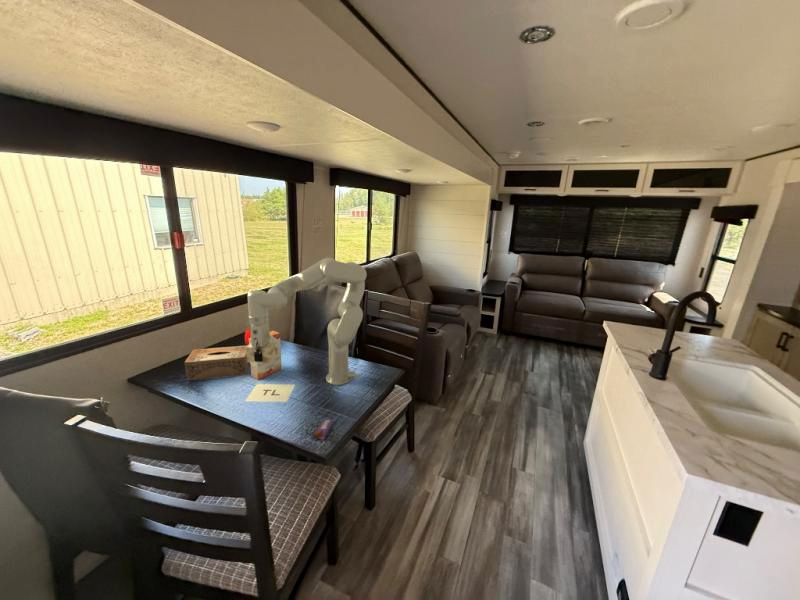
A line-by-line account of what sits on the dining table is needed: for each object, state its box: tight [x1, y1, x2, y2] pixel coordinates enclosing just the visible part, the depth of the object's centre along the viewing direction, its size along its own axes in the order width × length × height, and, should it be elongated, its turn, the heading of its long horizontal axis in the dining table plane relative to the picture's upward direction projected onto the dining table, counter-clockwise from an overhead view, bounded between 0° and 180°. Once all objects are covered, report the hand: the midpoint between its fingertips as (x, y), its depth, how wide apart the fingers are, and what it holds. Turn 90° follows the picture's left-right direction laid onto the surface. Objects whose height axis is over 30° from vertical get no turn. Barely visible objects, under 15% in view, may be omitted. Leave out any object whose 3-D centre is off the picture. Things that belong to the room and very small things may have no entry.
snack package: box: [311, 417, 337, 441], centre depth 118 cm, size 12×2×5 cm
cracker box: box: [249, 330, 282, 380], centre depth 154 cm, size 14×6×21 cm, turn 148°
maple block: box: [246, 342, 275, 363], centre depth 134 cm, size 10×6×7 cm, turn 94°
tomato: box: [244, 327, 251, 346], centre depth 182 cm, size 12×12×13 cm
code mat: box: [244, 383, 296, 403], centre depth 140 cm, size 18×14×1 cm
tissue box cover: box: [184, 345, 251, 382], centre depth 155 cm, size 26×14×10 cm, turn 109°
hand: (261, 357), depth 135 cm, fingers closed on maple block, 6 cm apart
